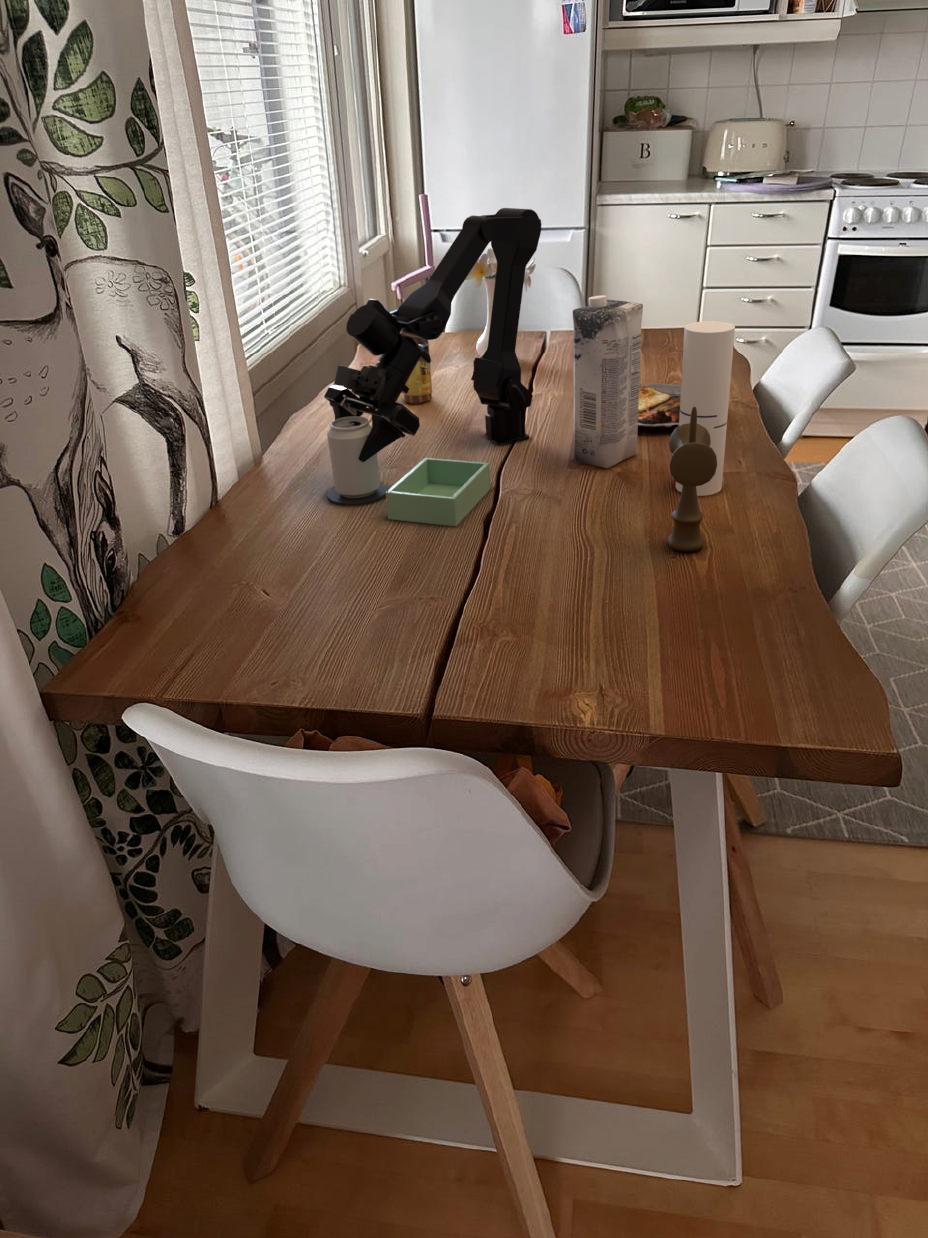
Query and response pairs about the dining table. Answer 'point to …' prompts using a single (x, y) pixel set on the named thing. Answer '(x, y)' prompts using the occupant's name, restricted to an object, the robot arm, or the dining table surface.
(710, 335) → the cylindrical container
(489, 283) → the flower vase
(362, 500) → the coaster
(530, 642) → the dining table surface
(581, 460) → the juice carton
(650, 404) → the food plate
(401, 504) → the green open box
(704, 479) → the kendama
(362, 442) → the can
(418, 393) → the sauce bottle
